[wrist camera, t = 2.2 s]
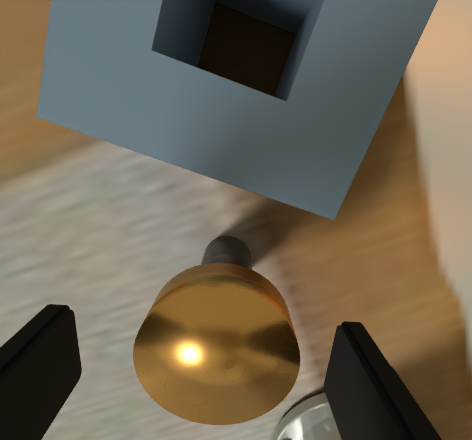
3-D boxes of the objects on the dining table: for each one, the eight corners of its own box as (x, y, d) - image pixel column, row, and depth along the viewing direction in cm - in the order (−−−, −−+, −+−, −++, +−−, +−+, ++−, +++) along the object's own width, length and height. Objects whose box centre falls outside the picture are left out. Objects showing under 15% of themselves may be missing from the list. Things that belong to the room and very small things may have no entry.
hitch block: (376, -10, 14) (513, -162, 7) (295, 188, 17) (334, 220, 10) (173, -98, 13) (97, -372, 6) (124, 128, 16) (36, 117, 9)
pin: (284, 233, 18) (327, 320, 9) (253, 307, 19) (264, 440, 11) (198, 203, 17) (156, 266, 9) (173, 282, 19) (117, 401, 10)
